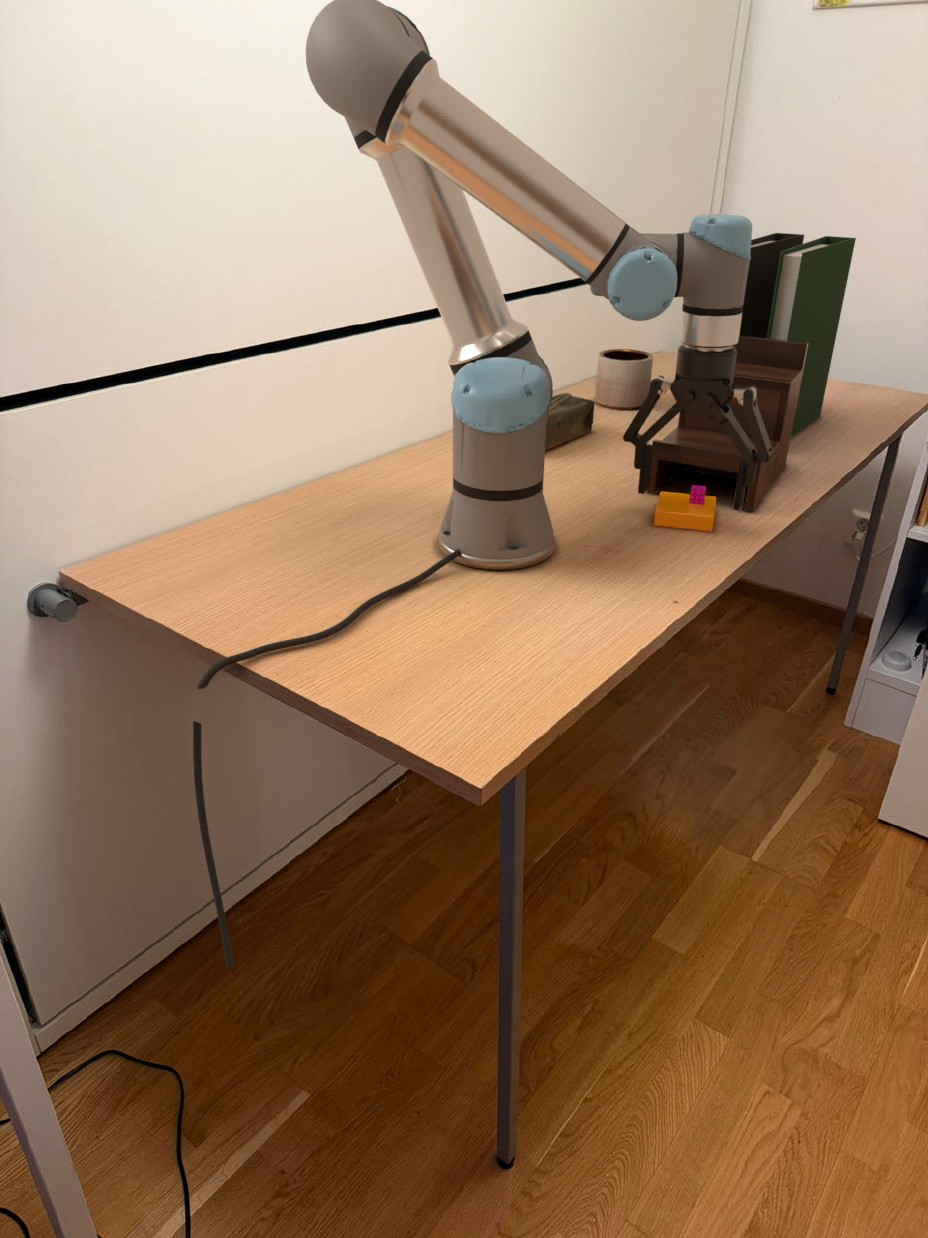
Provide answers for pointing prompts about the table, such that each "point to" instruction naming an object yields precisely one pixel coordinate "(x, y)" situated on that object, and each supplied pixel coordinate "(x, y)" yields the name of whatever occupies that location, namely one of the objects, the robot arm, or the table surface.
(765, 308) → the books
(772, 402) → the step shelf
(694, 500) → the orange slab
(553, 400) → the beverage carton
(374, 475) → the table surface
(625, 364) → the planter
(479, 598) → the table surface
